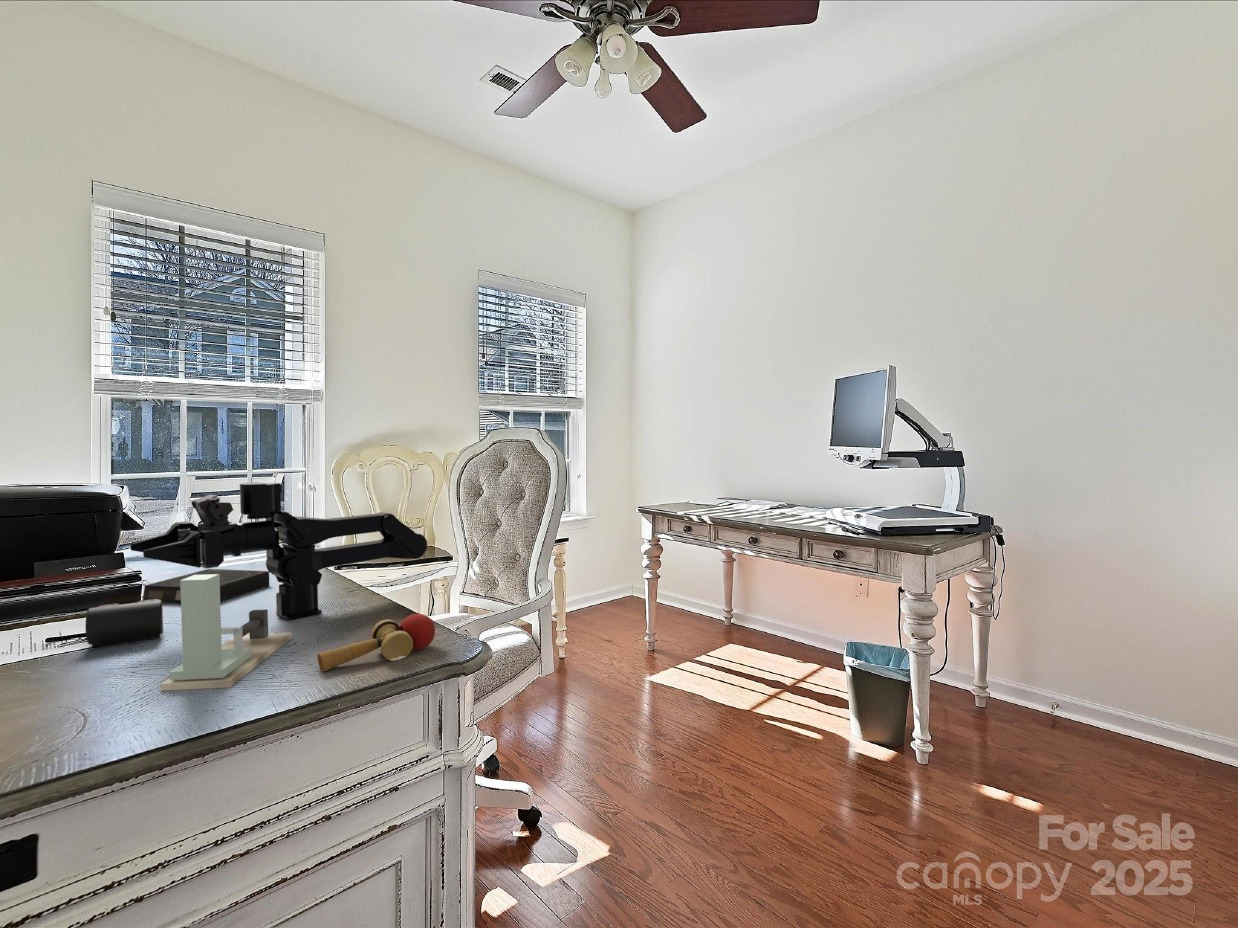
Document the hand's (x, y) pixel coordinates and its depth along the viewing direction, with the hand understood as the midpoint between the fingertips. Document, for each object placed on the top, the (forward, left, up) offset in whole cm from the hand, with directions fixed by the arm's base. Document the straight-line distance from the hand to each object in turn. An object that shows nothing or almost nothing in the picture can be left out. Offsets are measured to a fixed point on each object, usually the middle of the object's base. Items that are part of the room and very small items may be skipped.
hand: (136, 550), depth 100 cm
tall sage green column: (-4, +23, -15) cm, 28 cm away
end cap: (+1, -6, -17) cm, 18 cm away
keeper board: (-9, +18, -17) cm, 26 cm away
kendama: (-24, +35, -17) cm, 46 cm away
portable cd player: (-18, -32, -17) cm, 41 cm away
